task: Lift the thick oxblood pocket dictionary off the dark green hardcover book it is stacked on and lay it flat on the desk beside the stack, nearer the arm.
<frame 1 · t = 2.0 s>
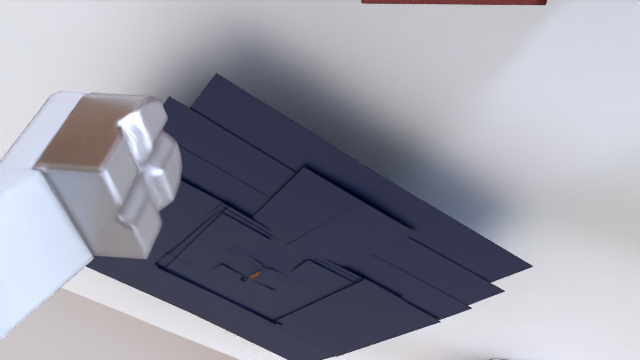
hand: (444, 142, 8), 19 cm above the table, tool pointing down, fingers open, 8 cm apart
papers: (270, 237, 44), on the table
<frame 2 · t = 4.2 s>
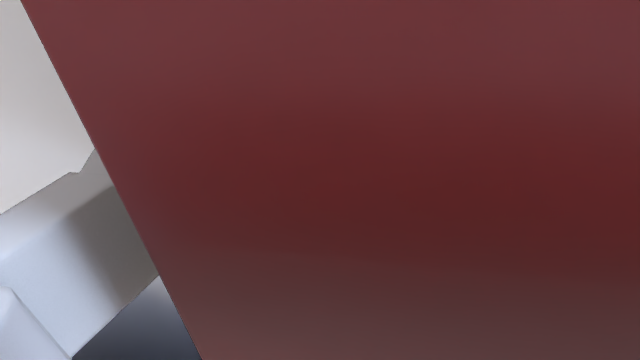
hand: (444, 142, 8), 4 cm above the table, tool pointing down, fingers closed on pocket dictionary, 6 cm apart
pocket dictionary: (447, 89, 9), point 3 cm above the table, touching gripper, hardcover book
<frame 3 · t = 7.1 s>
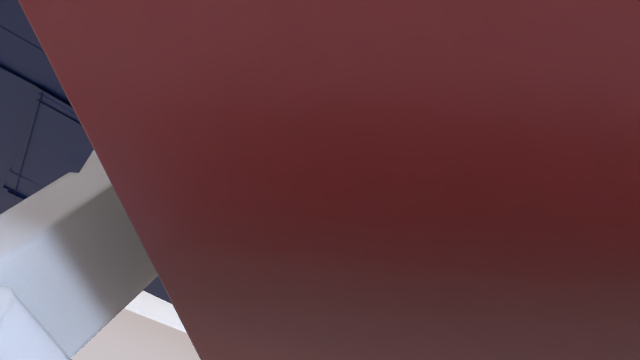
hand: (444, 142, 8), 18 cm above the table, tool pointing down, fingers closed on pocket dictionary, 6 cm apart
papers: (129, 150, 37), on the table
pocket dictionary: (445, 90, 9), point 17 cm above the table, touching gripper
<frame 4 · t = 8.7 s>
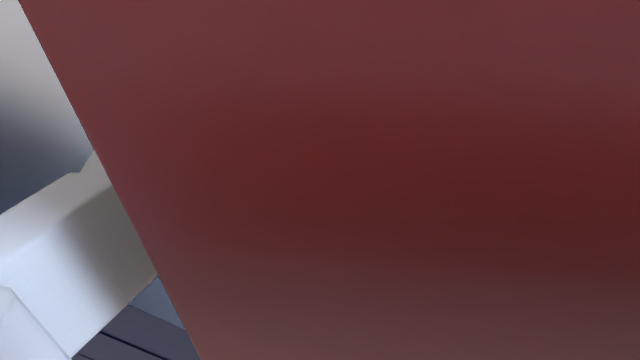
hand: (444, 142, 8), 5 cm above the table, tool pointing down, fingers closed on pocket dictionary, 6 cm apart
pocket dictionary: (446, 92, 9), point 4 cm above the table, touching gripper
when the fingers open (1 cm above the table, at t = 10.3 s): pocket dictionary stays where it is, on the table.
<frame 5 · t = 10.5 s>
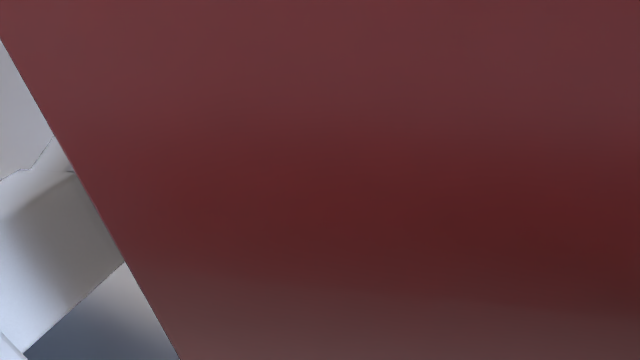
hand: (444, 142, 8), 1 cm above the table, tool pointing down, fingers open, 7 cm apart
pocket dictionary: (441, 105, 9), on the table
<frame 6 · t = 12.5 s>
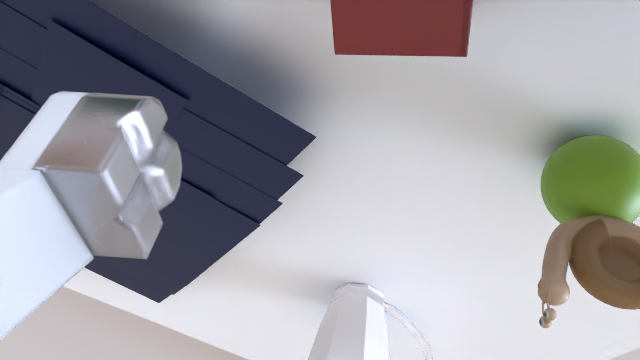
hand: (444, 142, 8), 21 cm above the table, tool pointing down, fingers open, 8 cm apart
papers: (86, 142, 41), on the table
snail figurine: (577, 147, 35), on the table
cup: (376, 301, 49), on the table
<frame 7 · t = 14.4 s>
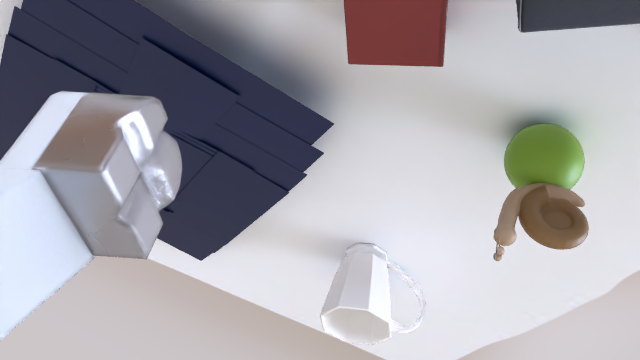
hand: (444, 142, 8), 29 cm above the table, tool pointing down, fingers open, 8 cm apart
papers: (152, 127, 52), on the table
snail figurine: (533, 133, 45), on the table
cup: (380, 258, 60), on the table
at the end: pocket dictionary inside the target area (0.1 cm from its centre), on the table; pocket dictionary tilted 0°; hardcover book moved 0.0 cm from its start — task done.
